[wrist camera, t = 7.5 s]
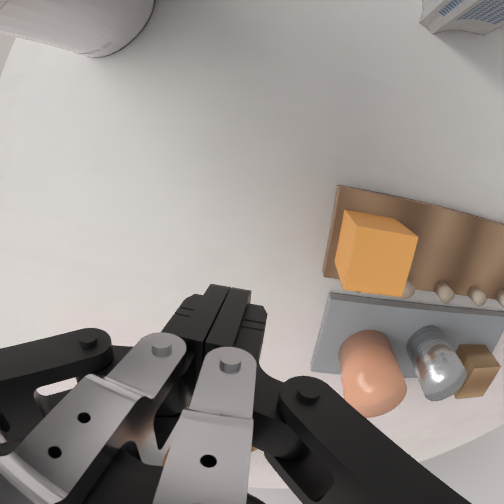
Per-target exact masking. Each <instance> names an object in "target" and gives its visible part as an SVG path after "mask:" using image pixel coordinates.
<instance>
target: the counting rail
mask: <svg viewBox="0 0 504 504" xmlns="http://www.w3.org/2000/svg"><path fill="white" fill-rule="evenodd" d="M344 210H350V211H356V212H362V213H368V214H373V215H378V216H384V217H389V218H394V219H396V220H397V221H399V222H400V223H401V224H403V225H404V226H405V227H406V228H408V229H409V230H410V231H412V232H413V233H414V234H415V235H417V236H418V241H417V245H416V249H415V253H414V257H413V260H412V264H411V268H410V271H409V274H408V278H407V281H406V284H405V288H404V291H403V294H402V297H403V298H410V297H411V296H412V295H413V294H414V289H417V290H425V291H433V292H436V294H437V295H438V296H439V297H440V299H441V300H442V301H443V302H444V303H448V302H450V301H451V300H452V299H453V297H454V294H457V295H466V296H469V297H470V298H471V299H472V300H473V301H474V303H475V304H476V305H477V306H482V305H483V304H484V303H485V302H486V298H491V299H496V300H497V301H498V302H499V303H500V304H501V305H502V306H503V307H504V224H502V223H499V222H495V221H492V220H489V219H485V218H482V217H478V216H475V215H471V214H468V213H464V212H460V211H456V210H453V209H449V208H445V207H441V206H437V205H433V204H429V203H424V202H420V201H416V200H411V199H407V198H402V197H398V196H393V195H388V194H383V193H378V192H373V191H368V190H363V189H357V188H352V187H346V186H341V185H337V191H336V197H335V204H334V210H333V216H332V221H331V227H330V233H329V238H328V244H327V249H326V254H325V259H324V264H323V269H322V270H323V275H324V277H328V278H335V279H340V278H339V274H338V271H337V268H336V265H335V262H334V261H335V256H336V251H337V246H338V241H339V236H340V230H341V225H342V220H343V214H344ZM355 292H357V291H355ZM358 293H360V292H358Z"/></svg>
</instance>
